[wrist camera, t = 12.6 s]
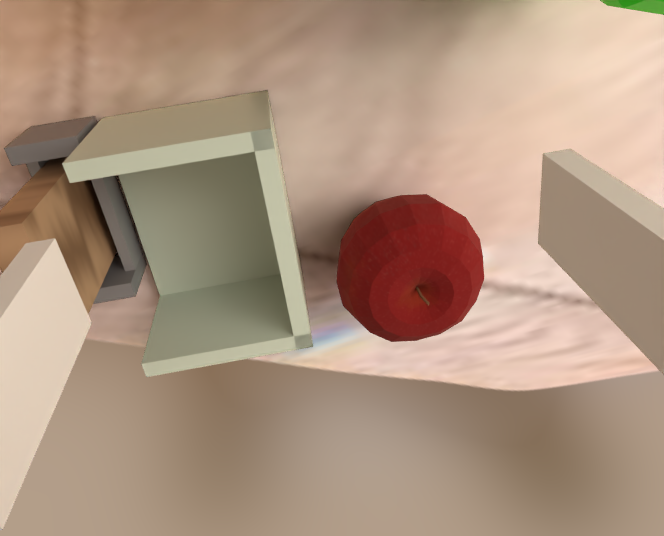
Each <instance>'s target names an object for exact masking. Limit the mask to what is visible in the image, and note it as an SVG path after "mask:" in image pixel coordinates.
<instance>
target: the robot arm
mask: <svg viewBox="0 0 664 536" xmlns="http://www.w3.org/2000/svg"><path fill="white" fill-rule="evenodd" d="M538 244H539V245H540V246H541V247H542V248H543V249H544V250H545V251H546V252H547V253H548V254H549V255H550V256H551V257H552V258H553V259H554V260H555V262H556V263H557V264H558V265H559V266H560V267H561V268H562V269H563V270H564V271H565V272H566V273H567V274H568V275H569V276H570V277H571V278H572V279H573V280H574V281H575V282H576V283H577V285H578V286H579V287H580V288H581V289H582V290H583V291H584V292H585V293H586V294H587V295H588V296H589V297H590V298H591V299H592V300H593V301H594V302H595V303H596V304H597V305H598V306H599V308H600V309H601V310H602V311H603V312H604V313H605V314H606V315H607V316H608V317H609V318H610V319H611V320H612V321H613V322H614V323H615V324H616V325H617V326H618V327H619V328H620V329H621V331H622V332H623V333H624V334H625V335H626V336H627V337H628V338H629V339H630V340H631V341H632V342H633V343H634V344H635V345H636V346H637V347H638V348H639V349H640V350H641V351H642V352H643V354H644V355H645V356H646V357H647V358H648V359H649V360H650V361H651V362H652V363H653V364H654V365H655V366H656V367H657V368H658V369H659V370H660V371H661V372H662V373H663V374H664V208H662V207H661V206H659V205H658V204H656V203H655V202H653V201H651V200H650V199H648V198H647V197H645V196H644V195H642V194H640V193H639V192H637V191H636V190H634V189H633V188H631V187H630V186H628V185H626V184H625V183H623V182H622V181H620V180H619V179H617V178H615V177H614V176H612V175H611V174H609V173H608V172H606V171H604V170H603V169H601V168H600V167H598V166H597V165H595V164H594V163H592V162H590V161H589V160H587V159H586V158H584V157H583V156H581V155H579V154H578V153H576V152H575V151H573V150H572V149H566V150H560V151H555V152H549V153H543V161H542V179H541V198H540V216H539V234H538ZM91 324H92V322H91V320H90V318H89V316H88V313H87V311H86V309H85V306H84V304H83V302H82V299H81V297H80V295H79V292H78V290H77V288H76V285H75V283H74V281H73V278H72V276H71V274H70V271H69V269H68V267H67V265H66V262H65V260H64V258H63V255H62V253H61V251H60V248H59V246H58V244H57V241H56V239H55V238H53V239H48V240H42V241H36V242H30V243H26V244H25V245H24V246H23V247H22V249H21V250H20V251H19V253H18V254H17V255H16V257H15V258H14V259H13V260H12V262H11V263H10V264H9V266H8V267H7V268H6V270H5V271H4V272H3V273H2V275H1V276H0V530H3V527H4V525H5V523H6V520H7V518H8V516H9V513H10V511H11V509H12V507H13V504H14V502H15V500H16V497H17V495H18V493H19V490H20V488H21V486H22V483H23V481H24V479H25V477H26V474H27V472H28V469H29V467H30V465H31V462H32V460H33V458H34V456H35V453H36V451H37V449H38V446H39V444H40V442H41V439H42V437H43V435H44V432H45V430H46V428H47V425H48V423H49V421H50V419H51V416H52V414H53V412H54V409H55V407H56V405H57V403H58V400H59V398H60V396H61V393H62V391H63V388H64V386H65V384H66V382H67V379H68V377H69V375H70V372H71V370H72V368H73V365H74V363H75V361H76V358H77V356H78V354H79V352H80V349H81V347H82V345H83V342H84V340H85V338H86V335H87V333H88V331H89V329H90V326H91Z"/></svg>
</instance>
